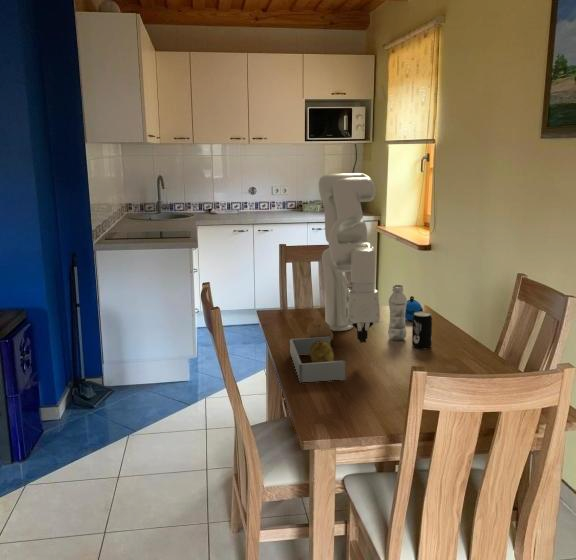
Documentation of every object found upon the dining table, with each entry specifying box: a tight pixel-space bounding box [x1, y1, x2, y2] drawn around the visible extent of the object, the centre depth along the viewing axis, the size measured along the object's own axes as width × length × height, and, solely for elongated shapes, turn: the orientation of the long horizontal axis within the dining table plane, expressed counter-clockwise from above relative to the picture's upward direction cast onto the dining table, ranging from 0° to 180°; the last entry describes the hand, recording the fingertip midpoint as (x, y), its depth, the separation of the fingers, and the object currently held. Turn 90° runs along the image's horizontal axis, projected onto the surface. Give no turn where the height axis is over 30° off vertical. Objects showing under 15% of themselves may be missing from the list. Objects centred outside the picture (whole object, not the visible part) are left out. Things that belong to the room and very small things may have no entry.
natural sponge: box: [306, 318, 334, 342], centre depth 199 cm, size 9×9×10 cm
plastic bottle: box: [387, 284, 408, 341], centre depth 202 cm, size 6×7×20 cm
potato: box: [309, 340, 335, 363], centre depth 179 cm, size 8×13×8 cm, turn 172°
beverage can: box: [411, 310, 433, 350], centre depth 194 cm, size 7×7×12 cm
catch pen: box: [289, 336, 346, 383], centre depth 179 cm, size 24×14×6 cm, turn 7°
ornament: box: [405, 295, 424, 322], centre depth 225 cm, size 9×9×10 cm
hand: (362, 341), depth 181 cm, fingers closed
